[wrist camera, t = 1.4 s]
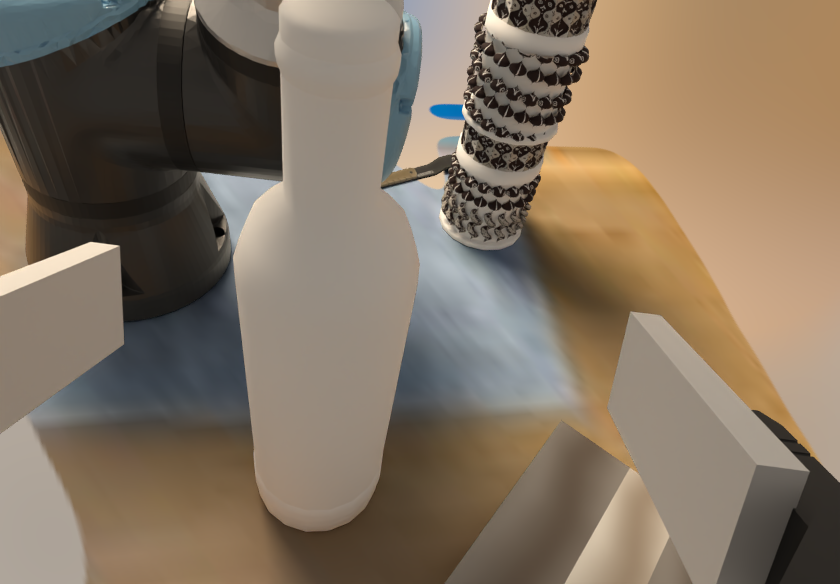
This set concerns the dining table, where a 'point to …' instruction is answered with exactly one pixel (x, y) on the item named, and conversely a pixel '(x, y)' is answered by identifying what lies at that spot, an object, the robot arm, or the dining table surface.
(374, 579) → the dining table surface
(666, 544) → the subfloor panel
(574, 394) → the dining table surface
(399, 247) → the bottle
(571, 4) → the decorative candle
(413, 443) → the dining table surface
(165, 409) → the dining table surface
